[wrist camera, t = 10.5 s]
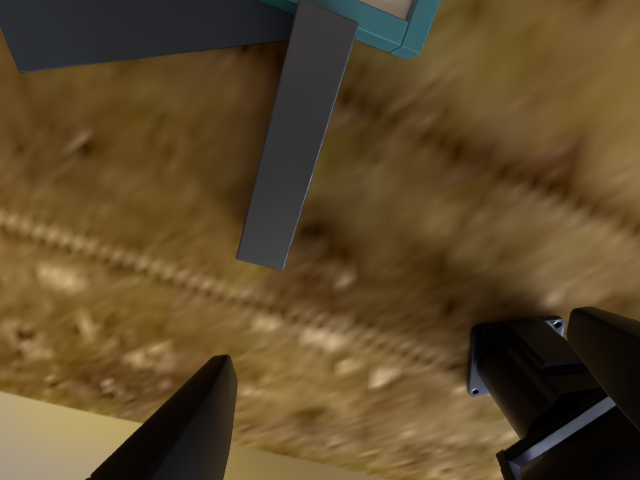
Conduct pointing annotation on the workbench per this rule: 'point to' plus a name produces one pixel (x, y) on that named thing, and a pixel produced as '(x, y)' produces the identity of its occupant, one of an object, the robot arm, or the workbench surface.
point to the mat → (132, 29)
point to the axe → (316, 105)
